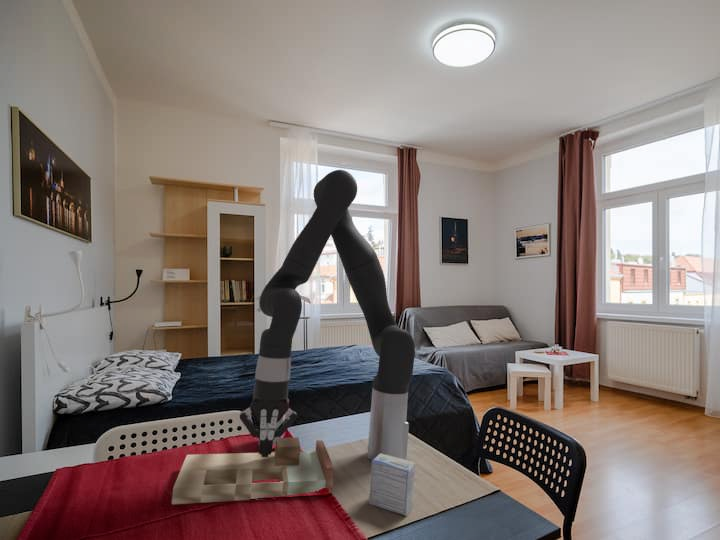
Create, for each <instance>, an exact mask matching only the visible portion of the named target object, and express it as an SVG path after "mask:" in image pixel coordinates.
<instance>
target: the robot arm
mask: <svg viewBox="0 0 720 540" xmlns="http://www.w3.org/2000/svg"><path fill="white" fill-rule="evenodd" d="M357 193H358V183H357V181H356V179H355V177H354V176H353V174H352V173H350V172H349V171H346V170H344V169H336V170H333V171H330V172H329V173H327V174H326V175H325V176H323V178H322V179H320V180H319V181H318V182H317V183H316V185H315V186H314V189H313V199H314V203H315V206H316V208H315V210H314V212H313V214H312V215H311V217H310V219H309V220H308V221H307V223H306V224H305V226H304V227H303V229H302V230H301V231H300V233H299V234H298V236H297V237H296V239H295V240H294V242H293V243H292V245H291V247H290V249H289V251H288V253H287V255H286V257H285V258H284V261H283V263H282V265H281V267H280V268H279V269H278V270H277V271H276V272H275V274H273V276H272V277H271V278H270V279H269V281H268V282H267V284H266V285H265V286H264V288H263V289H262V291H261V293H260V296H259V309H260V312H262V313H263V314H264V315H265V316H267V317H270V318H271V322H270V324H269V328H266V329H264V330H263V331H262V332H261V334H260V335H261V337H260V340H259V341H260V342H259V350H258V358H257V363H256V367H255V377H254V386H253V396H252V400H251V402H250V404H249V407H248V408H246V409H245V410H241V411H240V412H239V413H240V414H239V419H240V421H241V422H242V424H243V425H244V427H245V428H246V429H247V431H248V432H249V433H250V435H251V437H253V438H257V439H258V445H259V448H258V453H259V454H261V457H268V454H271V453H272V452H273V449H272V446H273V440H274V438H276V437H281V436H282V435H283V434H284V432H285V433H286V432H287V430H288V429H289V428H290V427H291V426H292V424H294V423H295V421H296V420H297V419H298V415H297V412H296V411H295V410H292V409H291V408H290V404H288V399H289V398H288V397H289V389H290V380H291V378H290V377H291V375H292V373H291V369H292V367H291V366H292V362H291V359H292V358H291V355H292V348H293V338H294V335H295V333H296V331H297V327H298V324H299V321H300V318H301V315H302V311H303V302H302V298H301V295H300V293H299V292H298V291H297V287H299V286H301V285H303V284H306V283H307V282H308V281H309V279H310V277H311V276H312V274H313V272H314V270H315V268H316V265H317V263H318V262H319V259H320V257H321V255H322V253H323V251H324V249H325V246H326V244H327V243H328V241H329V239H330V237H331V238H332V240H333V243H334V245H335V248H336V251H337V254H338V257H339V259H340V261H341V263H342V268H343V269H344V272H345V275H346V277H347V278H346V279H347V281H348V283H349V285H350V287H351V289H352V293H353V294H354V297H355V299H356V301H357V302H358V306H359V308H360V309H361V311H362V314H363V316H364V319H365V321H366V326H367V329H368V333H369V337H370V340H371V344H372V347H373V350H374V352H375V354H376V355H377V356H378V357H379V360H378V367H377V368H378V369H377V373H376V375H375V376H374V377H373V379H372V388H371V389H372V391H371V404H370V417H369V429H368V442H367V459H369V460H370V462H372V461H373V460H374V459H375V458H376V457H377V456H378V455H379V454H380V453H381V454H385V455H389V456H393V457H397V458H400V459H404V460H407V453H408V440H409V427H410V423H409V422H408V421H407V414H408V413H407V412H408V399H409V389H410V388H409V387H410V384H411V381H412V379H413V373H414V364H415V353H416V350H415V349H416V345H415V339H414V338H413V336H412V334H411V333H409V331H408V330H406V329H404V328H401V327H399V325H398V323H397V322H396V320H395V318H394V316H393V313H392V311H391V309H390V306H389V305H390V304H389V301H388V294H387V291H388V290H387V285H386V284H387V282H386V279H385V274H384V270H383V268H382V264H381V263H380V260H379V258H378V255H377V253H376V251H375V249H374V248H373V246H372V244H370V243H369V241H367V239H366V238H365V237H364V236H363V234H361V233H360V231H359V230H358V229H357V227H356V226H355V224H354V221H353V220H352V217H351V214H350V211H349V207H350V206H351V204H352V203H353V202H354V200H355V199H356V197H357ZM286 412H287V414H286V416H285V417H286V419H285V420H284V421H283V422H282V423H281V425H280V426H279V427H278V428H277V429H276V430H275V428H276V423H277V422H279V421H280V419H281V418H282V417H283V416H284V415H285V413H286ZM252 415H253V416H254V418H255V419H256V421H257V422H258V423H260V424H259V425H260V426H259V429H258V428H257V426H256V425H255V424H254V422H253V421H252ZM266 423H269V429H268V436H267V437H266ZM259 439H260V441H259Z"/></svg>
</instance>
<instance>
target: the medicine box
mask: <svg viewBox="0 0 720 540" xmlns="http://www.w3.org/2000/svg"><path fill="white" fill-rule="evenodd" d="M370 469H371V470H370V472H371V473H370V485H369V486H370V487H369V497H368V498H369V500H368V503H369V505H372V506H374V507H379V508H380V509H384V510H387V511H389V512H392V513H397V514H400V515H403V516H405V517H406V516H408V515H409V512H410V511H411V509H412V508H413V506H414V492H415V491H414V490H415V476H416V475H415V474H416V462H414V461H411V460H407V459H406V460H404V459H400V458H397V457H393V456H389V455H385V454H381V453H380V454H379V455H378V456H377V457H376V458H375V459H374V460H373V461H371V468H370Z"/></svg>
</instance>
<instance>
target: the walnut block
mask: <svg viewBox="0 0 720 540" xmlns="http://www.w3.org/2000/svg"><path fill="white" fill-rule="evenodd" d="M274 452H275V466H288V465H299V458H300V452H301V443H300V440H299V437H285V438H276V446H275V449H274Z"/></svg>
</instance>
